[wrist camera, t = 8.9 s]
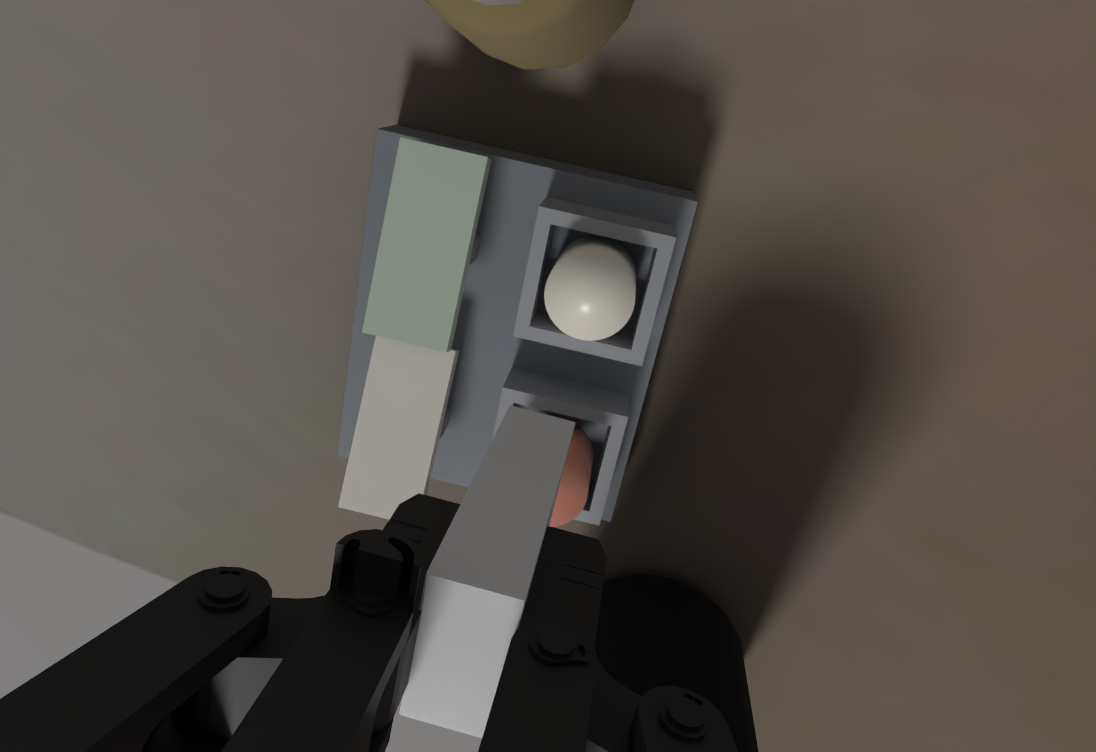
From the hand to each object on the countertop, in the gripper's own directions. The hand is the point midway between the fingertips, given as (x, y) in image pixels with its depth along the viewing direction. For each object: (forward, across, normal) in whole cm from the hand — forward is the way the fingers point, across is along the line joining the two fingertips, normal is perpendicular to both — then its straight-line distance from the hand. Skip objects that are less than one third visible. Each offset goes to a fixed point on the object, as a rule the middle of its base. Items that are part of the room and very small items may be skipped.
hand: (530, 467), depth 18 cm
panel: (+22, +4, +4) cm, 22 cm away
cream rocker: (+17, +7, +8) cm, 20 cm away
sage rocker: (+17, +7, 0) cm, 18 cm away
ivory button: (+18, 0, 0) cm, 18 cm away
